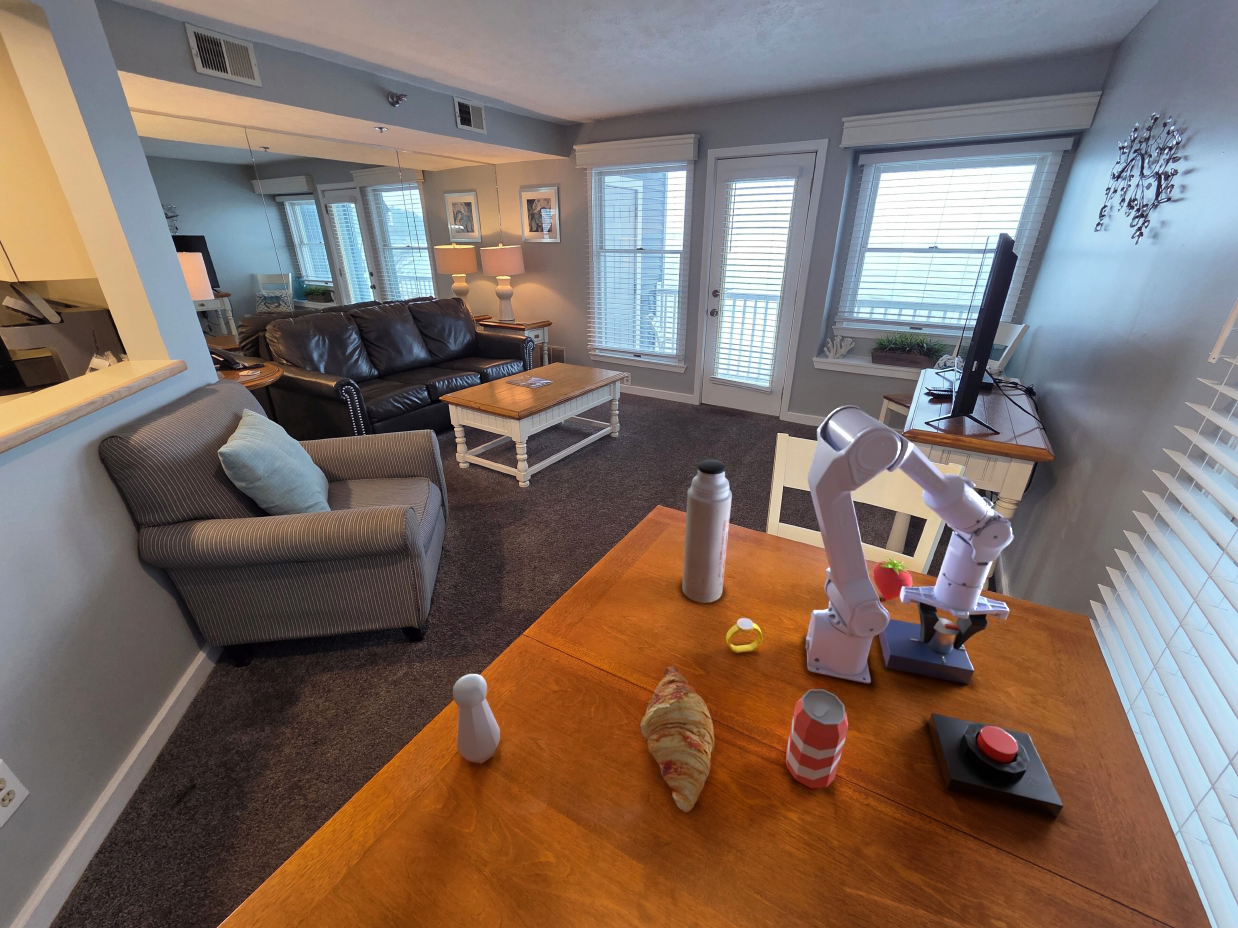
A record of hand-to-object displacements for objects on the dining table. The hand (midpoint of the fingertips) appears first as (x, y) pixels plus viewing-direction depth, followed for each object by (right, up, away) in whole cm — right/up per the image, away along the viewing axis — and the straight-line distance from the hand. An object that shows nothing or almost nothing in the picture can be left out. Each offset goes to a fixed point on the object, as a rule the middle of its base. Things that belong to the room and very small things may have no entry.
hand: (938, 641), depth 83 cm
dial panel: (-2, -3, +2) cm, 4 cm away
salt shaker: (-73, -11, -13) cm, 74 cm away
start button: (-3, -8, -17) cm, 19 cm away
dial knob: (0, -1, 0) cm, 1 cm away
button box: (-3, -11, -15) cm, 19 cm away
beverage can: (-27, -12, -15) cm, 34 cm away
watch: (-32, -3, +4) cm, 32 cm away
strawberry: (-1, +3, +15) cm, 15 cm away
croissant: (-45, -10, -12) cm, 48 cm away
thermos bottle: (-36, +4, +18) cm, 41 cm away
